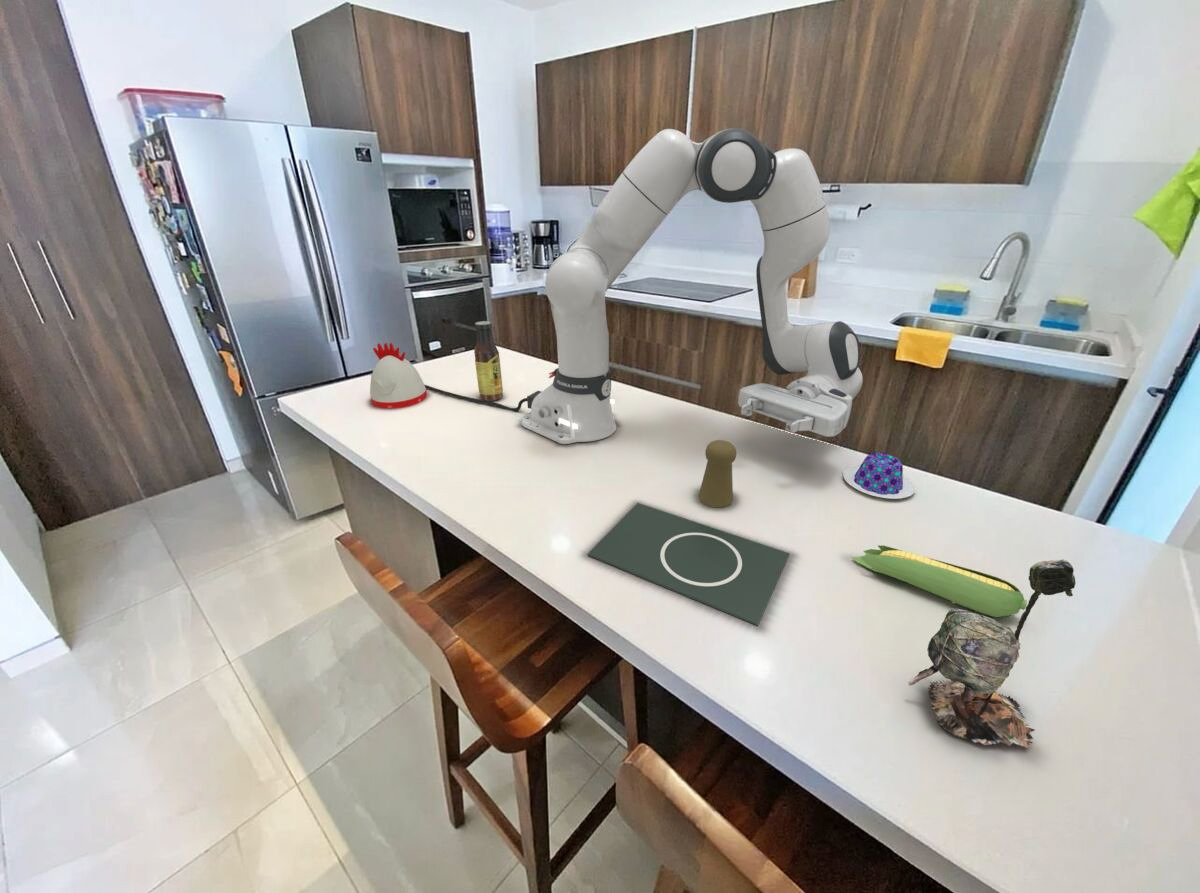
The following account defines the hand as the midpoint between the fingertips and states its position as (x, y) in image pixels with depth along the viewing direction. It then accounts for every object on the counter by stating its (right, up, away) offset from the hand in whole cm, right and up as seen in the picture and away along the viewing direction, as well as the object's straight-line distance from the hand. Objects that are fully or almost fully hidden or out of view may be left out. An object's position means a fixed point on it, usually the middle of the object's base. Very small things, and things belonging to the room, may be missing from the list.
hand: (765, 419), depth 90 cm
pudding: (+21, -12, +3) cm, 25 cm away
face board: (-17, -22, -15) cm, 31 cm away
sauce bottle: (-59, +8, +42) cm, 73 cm away
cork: (-9, -14, -1) cm, 17 cm away
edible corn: (+15, -25, -21) cm, 36 cm away
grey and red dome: (-84, +8, +43) cm, 94 cm away
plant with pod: (+9, -33, -37) cm, 51 cm away
